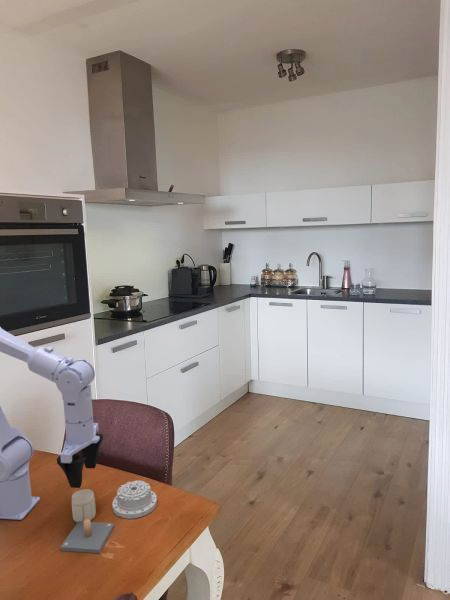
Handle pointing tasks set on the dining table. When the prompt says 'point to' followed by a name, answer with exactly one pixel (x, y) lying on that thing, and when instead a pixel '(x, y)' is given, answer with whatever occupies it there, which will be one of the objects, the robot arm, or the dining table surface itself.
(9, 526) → the dining table surface
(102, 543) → the plate
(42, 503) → the dining table surface
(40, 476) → the dining table surface
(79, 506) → the wire nut
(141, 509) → the mechanical component
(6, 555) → the dining table surface
